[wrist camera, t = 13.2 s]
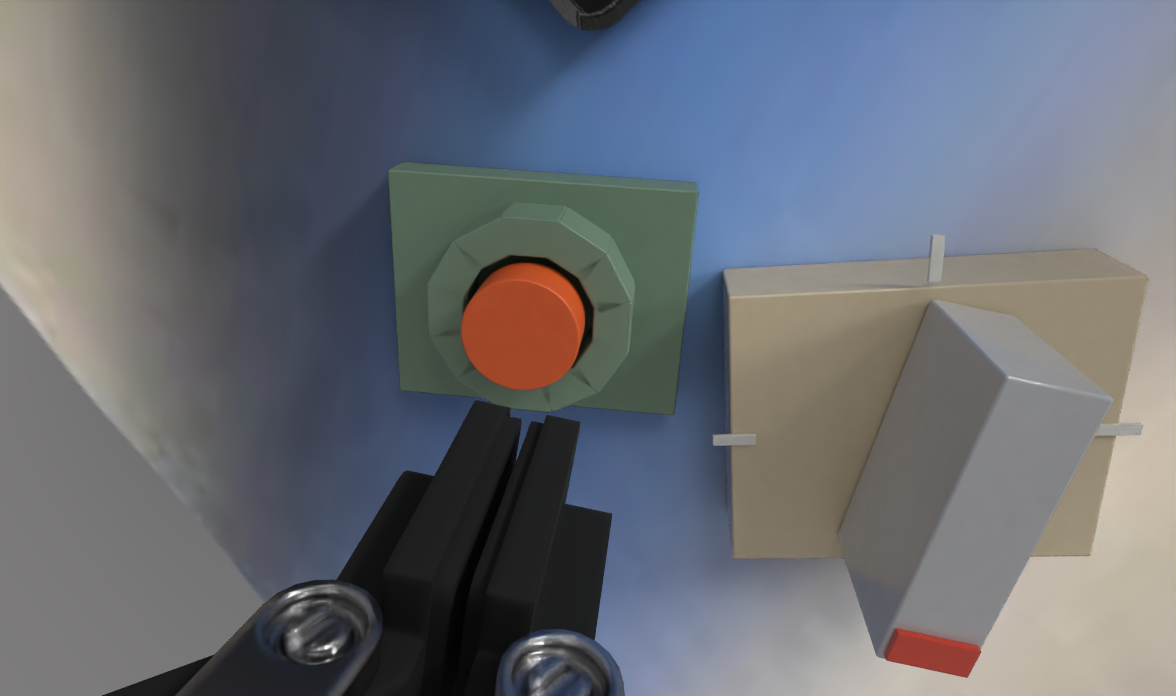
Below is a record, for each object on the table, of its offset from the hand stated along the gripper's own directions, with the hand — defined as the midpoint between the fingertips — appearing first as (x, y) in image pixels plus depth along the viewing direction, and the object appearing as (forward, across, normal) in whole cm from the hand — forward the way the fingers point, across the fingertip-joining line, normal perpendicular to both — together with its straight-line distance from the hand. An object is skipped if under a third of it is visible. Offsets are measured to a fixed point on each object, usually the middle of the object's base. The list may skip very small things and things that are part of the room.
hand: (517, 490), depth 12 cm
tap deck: (+15, -11, +4) cm, 19 cm away
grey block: (+12, -11, +4) cm, 17 cm away
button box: (+15, +2, +2) cm, 16 cm away
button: (+12, +2, +2) cm, 13 cm away
